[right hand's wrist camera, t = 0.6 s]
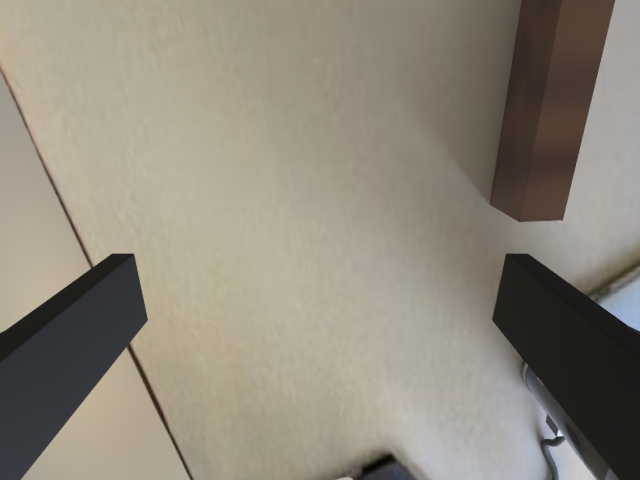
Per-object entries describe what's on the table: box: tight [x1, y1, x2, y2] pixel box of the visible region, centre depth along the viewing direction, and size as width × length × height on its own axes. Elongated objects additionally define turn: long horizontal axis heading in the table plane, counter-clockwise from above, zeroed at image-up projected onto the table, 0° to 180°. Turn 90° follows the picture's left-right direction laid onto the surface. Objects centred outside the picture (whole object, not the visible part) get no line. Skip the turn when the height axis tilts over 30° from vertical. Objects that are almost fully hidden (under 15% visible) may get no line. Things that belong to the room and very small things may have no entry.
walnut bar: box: [490, 0, 615, 222], centre depth 31 cm, size 24×4×6 cm, turn 1°
